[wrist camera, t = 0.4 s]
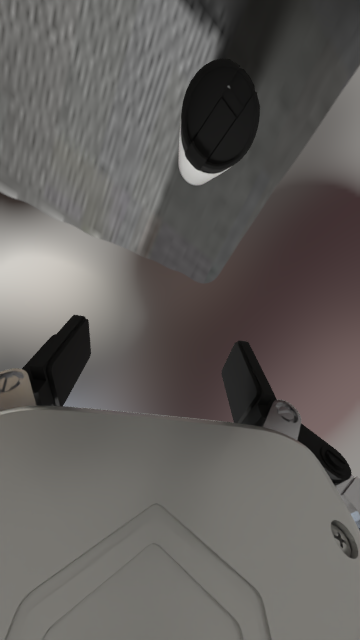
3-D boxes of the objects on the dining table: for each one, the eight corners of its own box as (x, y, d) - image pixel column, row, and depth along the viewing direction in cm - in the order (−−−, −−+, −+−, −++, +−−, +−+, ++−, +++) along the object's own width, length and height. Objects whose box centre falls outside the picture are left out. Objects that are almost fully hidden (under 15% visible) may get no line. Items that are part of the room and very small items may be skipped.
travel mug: (169, 167, 31) (161, 128, 14) (196, 124, 28) (224, 14, 11) (197, 196, 33) (218, 192, 16) (224, 159, 30) (282, 108, 14)
